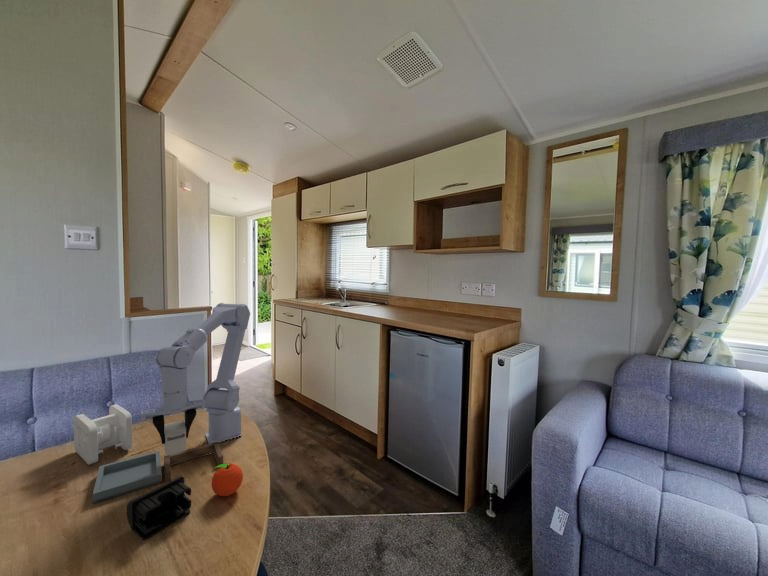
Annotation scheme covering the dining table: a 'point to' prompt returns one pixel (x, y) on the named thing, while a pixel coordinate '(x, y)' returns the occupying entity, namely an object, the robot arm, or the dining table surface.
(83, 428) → the cable organizer
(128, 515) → the end cap
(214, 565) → the dining table surface
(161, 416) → the robot arm
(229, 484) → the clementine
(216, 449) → the walnut bay
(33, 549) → the dining table surface
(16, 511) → the dining table surface
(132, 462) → the slate tray
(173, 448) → the box
